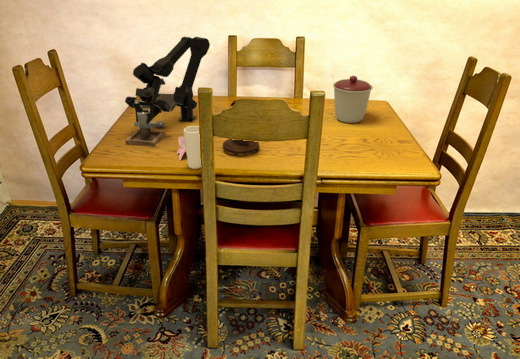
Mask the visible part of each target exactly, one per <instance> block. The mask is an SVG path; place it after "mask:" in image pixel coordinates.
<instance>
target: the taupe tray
mask: <svg viewBox="0 0 520 359" xmlns="http://www.w3.org/2000/svg"><path fill="white" fill-rule="evenodd" d="M165 136H166V132H165V131H164V130H162V131H161V130H152V129H151V137H149V138H141V137H140V131H139V128H137V129H136V130H135V131H134V132H133V133H132V134H130V135H129V136H128V137H127V138H126V139H125V141H124V142H125V145H128V146H142V147H152V148H153V147H154V148H155V147H156V146H157V145H158V143H160V141H161V140H162V139H163V138H164V137H165Z"/></svg>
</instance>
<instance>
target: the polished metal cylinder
mask: <svg viewBox="0 0 520 359" xmlns="http://www.w3.org/2000/svg"><path fill="white" fill-rule="evenodd" d="M149 112H150V111H148V110H139V111H137V116H138V123H139V127H138V129H139V131H140V137H141V138H149V137H151V130H152V129H151V128H150V123H149V124H147V118H148V115H149Z"/></svg>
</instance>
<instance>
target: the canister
mask: <svg viewBox="0 0 520 359" xmlns="http://www.w3.org/2000/svg"><path fill="white" fill-rule="evenodd" d="M332 86H333V93H334V95H333V96H334V100H333V101H334V115H335V118H336V119H337V120H338V121H340V122H342V123H347V124H348V123H349V124H355V123H356V124H357V123H359V122H361V121H362V120H364V118H365V115H366V113H367V108H368V104H369V99H370V96H371V91H372V90H373V85H372V84H371V83H369V82H368V81H365V80H361V79H358V77H357V76H356V75H351V76H350V77H349V78H346V79H340V80H338V81H336V82H334V83H333V84H332Z"/></svg>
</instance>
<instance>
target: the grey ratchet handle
mask: <svg viewBox="0 0 520 359" xmlns="http://www.w3.org/2000/svg"><path fill="white" fill-rule="evenodd" d="M133 127H137V128H139V123H138V122H136V120H135V121H134V122H133ZM151 128H153V129H158V130H161V129H165V128H166V125H165V121H163V120H159V121H158V120H157V121H153V120H151V122H150V129H151Z"/></svg>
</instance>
